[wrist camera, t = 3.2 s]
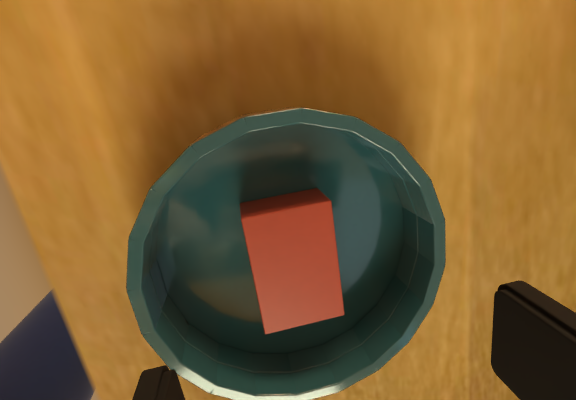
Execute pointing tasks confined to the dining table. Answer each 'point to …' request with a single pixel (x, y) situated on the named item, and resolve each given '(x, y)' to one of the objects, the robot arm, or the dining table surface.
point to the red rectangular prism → (293, 258)
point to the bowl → (236, 265)
